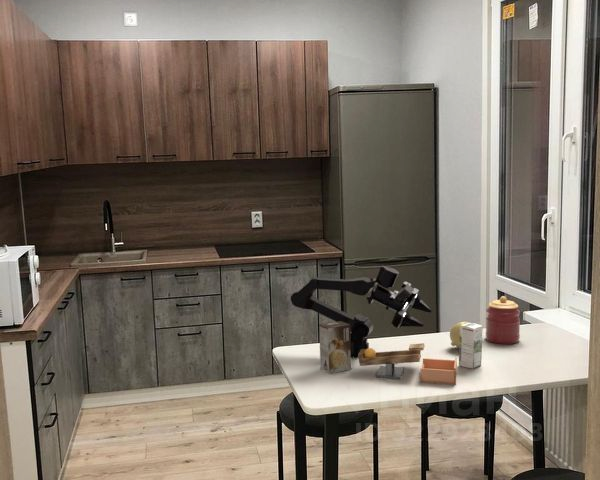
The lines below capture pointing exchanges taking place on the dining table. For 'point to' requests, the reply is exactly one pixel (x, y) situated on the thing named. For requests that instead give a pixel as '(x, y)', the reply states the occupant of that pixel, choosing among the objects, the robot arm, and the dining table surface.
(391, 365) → the lever stand
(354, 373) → the dining table surface
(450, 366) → the orange open box
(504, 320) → the canister
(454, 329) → the yellow rounded lump
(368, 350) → the ball
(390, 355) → the lever
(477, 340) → the syrup box
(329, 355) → the coffee box
